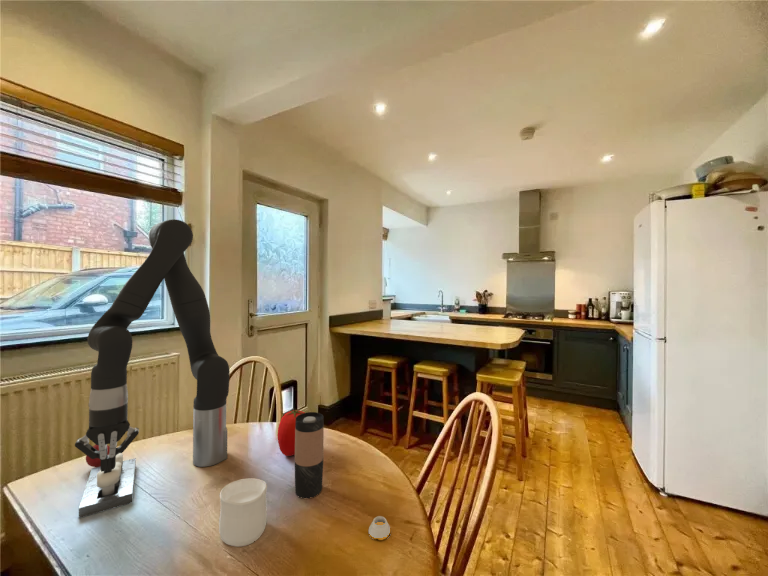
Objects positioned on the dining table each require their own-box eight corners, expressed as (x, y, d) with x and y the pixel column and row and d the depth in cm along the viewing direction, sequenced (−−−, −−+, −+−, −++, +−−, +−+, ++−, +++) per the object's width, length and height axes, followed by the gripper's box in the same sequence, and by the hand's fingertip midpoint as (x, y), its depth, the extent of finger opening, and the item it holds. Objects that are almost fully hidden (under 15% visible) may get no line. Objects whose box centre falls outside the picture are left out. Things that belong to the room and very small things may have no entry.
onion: (96, 474, 95) (96, 446, 95) (80, 471, 96) (80, 444, 96) (116, 463, 100) (116, 437, 100) (101, 461, 102) (101, 435, 101)
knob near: (120, 486, 86) (120, 464, 86) (118, 495, 83) (118, 472, 83) (98, 492, 84) (98, 469, 84) (95, 501, 80) (95, 478, 80)
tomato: (299, 440, 117) (299, 401, 117) (321, 450, 110) (322, 408, 110) (268, 455, 107) (269, 412, 107) (291, 467, 100) (291, 421, 100)
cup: (265, 543, 71) (266, 499, 71) (214, 554, 68) (214, 507, 68) (267, 513, 80) (268, 474, 80) (222, 521, 77) (223, 480, 77)
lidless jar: (364, 533, 74) (380, 546, 71) (364, 520, 74) (380, 532, 71) (379, 522, 78) (395, 533, 74) (379, 510, 78) (395, 520, 74)
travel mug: (328, 486, 91) (329, 414, 91) (311, 502, 84) (312, 425, 84) (306, 479, 94) (307, 410, 94) (288, 494, 87) (289, 419, 87)
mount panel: (135, 465, 99) (135, 458, 99) (132, 502, 83) (132, 493, 83) (91, 476, 93) (91, 468, 93) (78, 518, 77) (78, 508, 77)
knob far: (123, 470, 96) (123, 451, 96) (122, 478, 93) (122, 457, 92) (103, 475, 94) (103, 455, 94) (101, 483, 90) (102, 462, 90)
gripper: (141, 394, 90) (140, 457, 90) (76, 403, 82) (75, 472, 82) (140, 403, 84) (139, 470, 84) (70, 413, 76) (69, 487, 76)
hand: (107, 471), depth 83 cm, fingers closed
